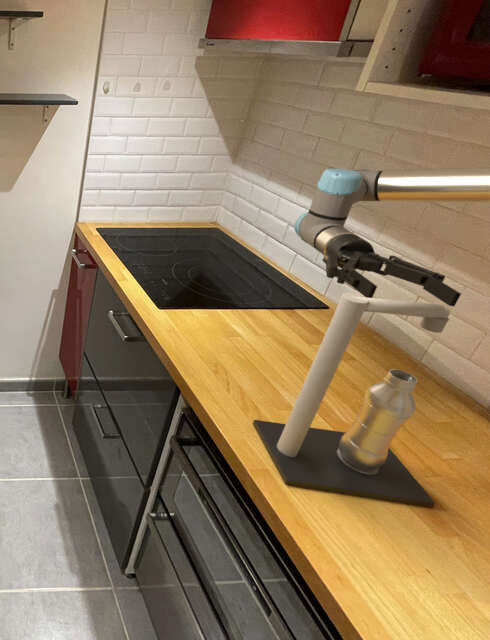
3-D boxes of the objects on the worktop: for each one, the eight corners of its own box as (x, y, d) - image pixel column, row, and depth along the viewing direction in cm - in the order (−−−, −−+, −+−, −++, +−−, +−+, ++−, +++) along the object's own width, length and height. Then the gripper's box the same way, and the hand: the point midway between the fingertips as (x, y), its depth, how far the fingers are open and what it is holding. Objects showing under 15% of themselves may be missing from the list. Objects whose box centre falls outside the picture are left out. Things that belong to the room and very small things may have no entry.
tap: (377, 441, 89) (464, 288, 74) (432, 507, 76) (550, 339, 61) (252, 423, 92) (311, 274, 78) (285, 484, 80) (362, 320, 65)
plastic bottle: (326, 451, 85) (368, 368, 76) (349, 441, 87) (392, 359, 79) (365, 480, 79) (415, 394, 71) (388, 468, 81) (438, 383, 73)
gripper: (399, 268, 102) (481, 320, 83) (279, 258, 106) (331, 306, 87) (413, 238, 99) (501, 285, 80) (289, 229, 103) (346, 272, 84)
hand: (413, 296), depth 83 cm, fingers open, 13 cm apart
